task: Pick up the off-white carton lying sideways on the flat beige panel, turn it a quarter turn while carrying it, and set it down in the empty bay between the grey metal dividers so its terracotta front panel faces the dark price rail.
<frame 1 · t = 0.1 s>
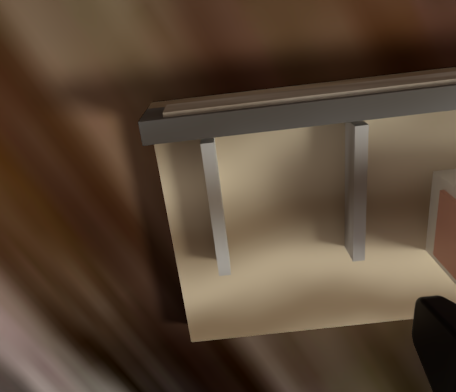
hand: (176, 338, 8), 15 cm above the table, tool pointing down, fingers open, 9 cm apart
flat beige panel: (371, 205, 23), on the table
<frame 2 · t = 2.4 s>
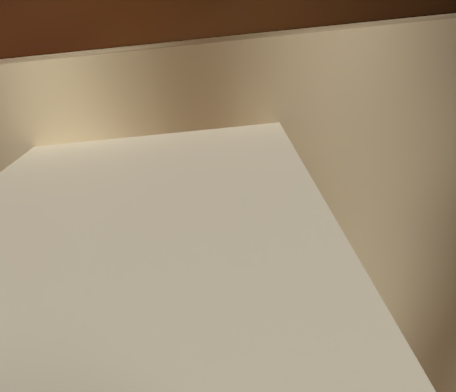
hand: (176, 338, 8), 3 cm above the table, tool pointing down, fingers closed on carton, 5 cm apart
carton: (182, 288, 9), point 1 cm above the table, touching gripper, flat beige panel
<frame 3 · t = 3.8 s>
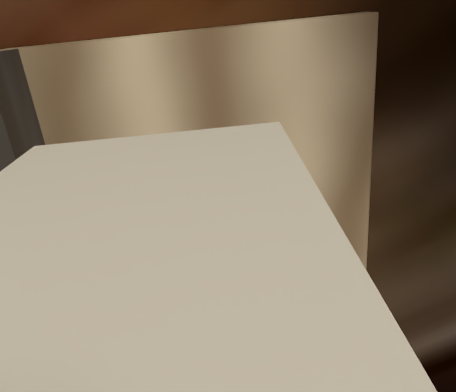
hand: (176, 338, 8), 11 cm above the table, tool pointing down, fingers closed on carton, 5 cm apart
carton: (182, 287, 9), point 10 cm above the table, touching gripper
flat beige panel: (215, 266, 21), on the table
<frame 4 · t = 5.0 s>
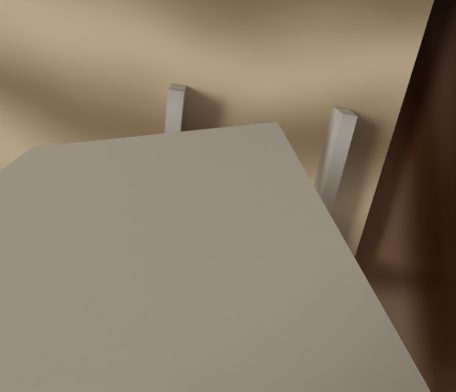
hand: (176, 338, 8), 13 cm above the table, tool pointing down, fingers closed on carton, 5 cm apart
carton: (181, 288, 9), point 11 cm above the table, touching gripper
flat beige panel: (143, 107, 19), on the table
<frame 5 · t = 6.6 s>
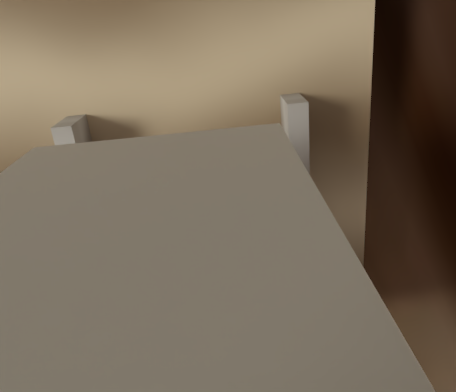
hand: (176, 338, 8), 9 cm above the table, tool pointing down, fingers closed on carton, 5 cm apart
carton: (182, 289, 9), point 7 cm above the table, touching gripper
flat beige panel: (55, 150, 15), on the table
when the fingers open (4 cm above the table, at t = 8.0 s): carton stays where it is, resting on flat beige panel.
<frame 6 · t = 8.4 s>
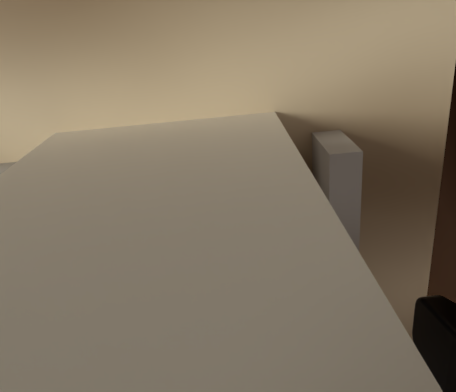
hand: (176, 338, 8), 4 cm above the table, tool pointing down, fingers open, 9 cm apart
carton: (186, 264, 10), point 1 cm above the table, touching flat beige panel
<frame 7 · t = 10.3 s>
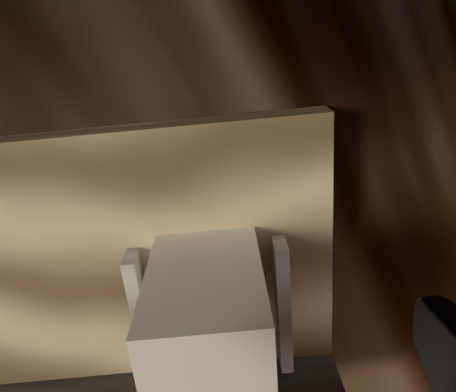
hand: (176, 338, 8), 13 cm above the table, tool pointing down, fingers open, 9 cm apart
carton: (212, 293, 21), point 1 cm above the table, touching flat beige panel
flat beige panel: (112, 261, 21), on the table
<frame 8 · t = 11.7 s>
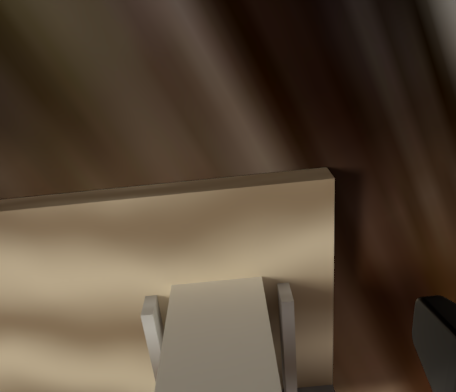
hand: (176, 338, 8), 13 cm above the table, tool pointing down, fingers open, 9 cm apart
carton: (223, 334, 23), point 1 cm above the table, touching flat beige panel
flat beige panel: (131, 303, 23), on the table
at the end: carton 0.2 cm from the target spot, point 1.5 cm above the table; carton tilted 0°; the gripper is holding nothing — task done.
